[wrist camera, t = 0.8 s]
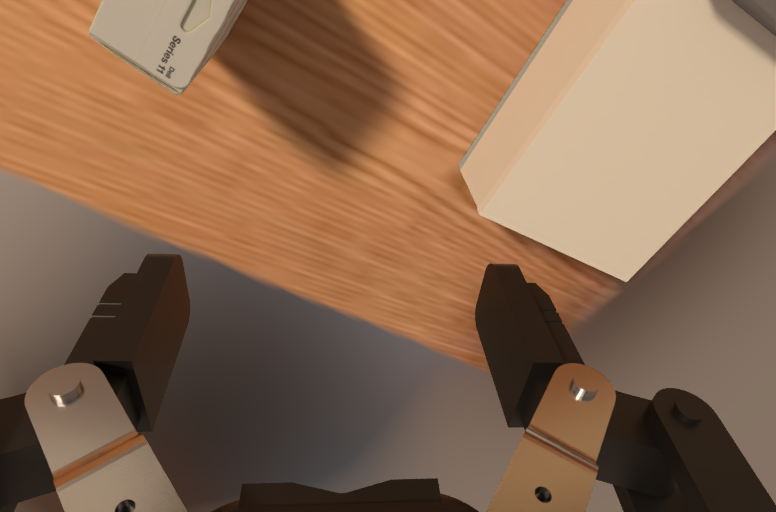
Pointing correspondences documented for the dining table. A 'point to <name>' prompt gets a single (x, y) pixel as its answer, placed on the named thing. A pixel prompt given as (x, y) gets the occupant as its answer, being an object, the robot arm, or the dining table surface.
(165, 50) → the ink box
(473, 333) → the dining table surface
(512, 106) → the base
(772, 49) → the lid
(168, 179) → the dining table surface
